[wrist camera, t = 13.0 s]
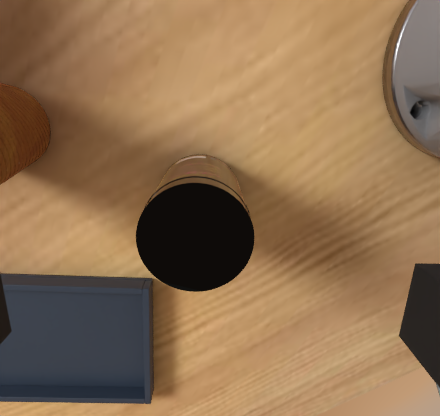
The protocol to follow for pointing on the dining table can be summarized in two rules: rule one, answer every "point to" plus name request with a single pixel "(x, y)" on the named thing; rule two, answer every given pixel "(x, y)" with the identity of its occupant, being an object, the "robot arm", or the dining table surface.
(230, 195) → the supplement container
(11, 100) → the disposable coffee cup
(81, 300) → the tray
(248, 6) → the dining table surface
